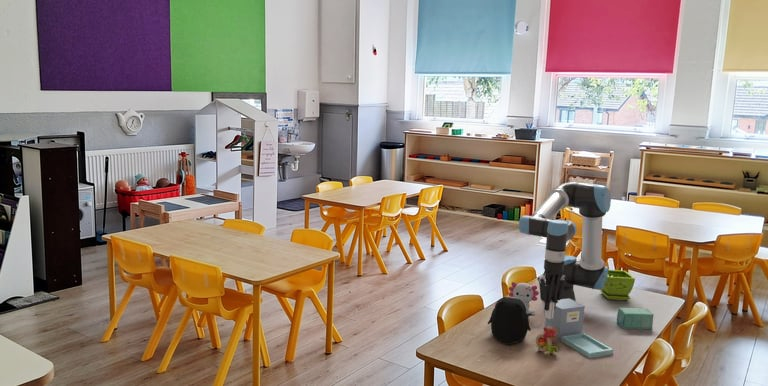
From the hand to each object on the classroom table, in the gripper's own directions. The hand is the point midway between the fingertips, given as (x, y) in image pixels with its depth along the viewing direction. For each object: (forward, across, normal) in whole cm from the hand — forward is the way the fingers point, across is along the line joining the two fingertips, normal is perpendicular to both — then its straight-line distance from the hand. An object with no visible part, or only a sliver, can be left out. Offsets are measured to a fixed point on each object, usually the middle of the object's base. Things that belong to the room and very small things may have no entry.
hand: (548, 317), depth 245 cm
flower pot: (+15, +77, +44) cm, 90 cm away
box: (+15, +57, +11) cm, 60 cm away
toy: (+15, +16, +38) cm, 44 cm away
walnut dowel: (+15, +9, +8) cm, 19 cm away
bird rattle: (+15, 0, 0) cm, 15 cm away
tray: (+15, +20, -1) cm, 25 cm away
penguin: (+15, -6, +17) cm, 24 cm away
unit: (+15, +21, +15) cm, 30 cm away
